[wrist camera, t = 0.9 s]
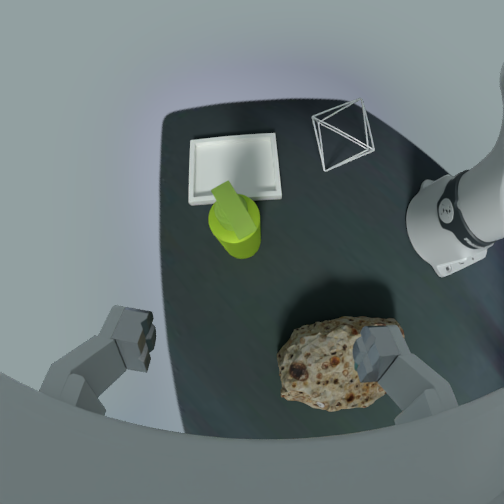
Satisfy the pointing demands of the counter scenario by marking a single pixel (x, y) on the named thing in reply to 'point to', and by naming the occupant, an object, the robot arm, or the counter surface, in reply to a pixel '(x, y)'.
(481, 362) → the counter surface
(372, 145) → the geometric polyhedron
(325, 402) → the rock
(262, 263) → the counter surface
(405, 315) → the counter surface
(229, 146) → the tray
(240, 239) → the soap dispenser
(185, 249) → the counter surface
